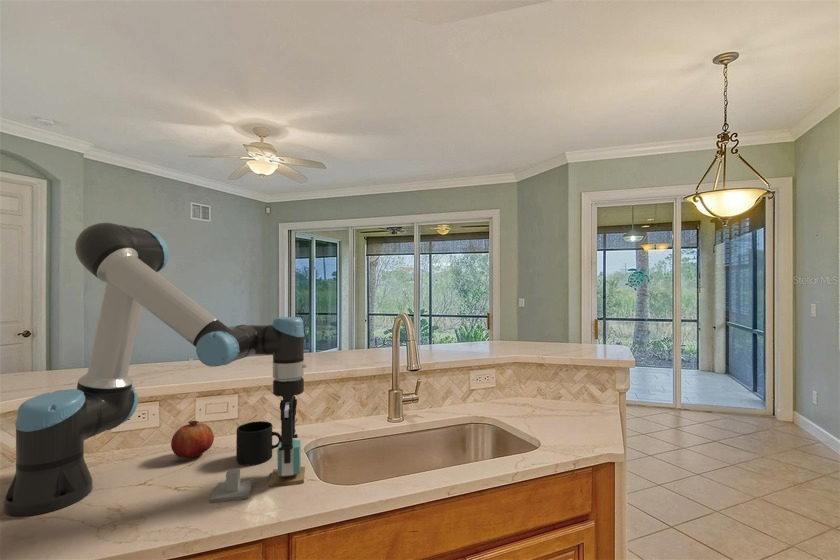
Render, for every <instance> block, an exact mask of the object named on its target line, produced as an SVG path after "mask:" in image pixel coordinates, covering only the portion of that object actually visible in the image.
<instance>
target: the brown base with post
mask: <svg viewBox="0 0 840 560" xmlns="http://www.w3.org/2000/svg"><path fill="white" fill-rule="evenodd" d="M305 472H306V466H301V467H300V474H293V475H289V476H278V468H274V469H272V473H271V476H270V480H269V483H268V484H269V485H268V486H269V488H271V487H279V486H286V485H287V486H288V485H289V486H290V485H300V484H304V482H305V474H306V473H305Z"/></svg>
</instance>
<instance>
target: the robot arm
mask: <svg viewBox="0 0 840 560" xmlns="http://www.w3.org/2000/svg"><path fill="white" fill-rule="evenodd" d="M74 244H75V248H74V250H75V255H76V257H77V259H78V261H79V262H80V263H81V265H82V266H83V267H84V268H85V269H86V270H87V271H89V273H91V274H92V275H93V276H95V277H96V278H97V279H99V280H100V281H101V282H104V283H106V284H105V288H104V294H103V296H102V297H103V298H102V303H101V308H100V313H99V318H98V320H97V321H98V322H97V326H96V330H95V331H96V332H95V336H94V339H93V345H92V350H91V354H90V358H89V359H90V360H89V364H88V369H87V372H86V373H85V374H84V375H82V376H81V377H79V378H78V380H77V386H76V388H75V389H74V388H73V389H69V388H68V389H67V388H66V389H61V390H60V389H59V390H55V391H52V392H46V393H42V394H41V393H40V394H38V395H36V396H33V397H31V398H28V399H27V400H25V401H24V402H22V403H21V404H20V405H19V406H18V409H17V413H16V420H15V423H14V424H15V472H14V475H13V478H12V480H11V482H10V485H9V488H8V490H7V492H6V495H5V497H4V501H3V512H4V513H5V514H6V515H8V516H12V517H15V516H16V517H20V516H21V517H25V516H33V515H35V516H36V515H39V514H43V513H48V512H53V511H56V510H59V509H62V508H65V507H67V506H70V505H73V504H75V503H77V502H79V501H81V500H82V499H84V498H86V497H87V496H88V495H89V494H90V493H91V492H92V490H93V483H94V482H93V477H92V474H91V472H90V470H89V467H88V465H87V463H86V461H85V458H84V455H85V454H84V451H85V450H84V448H85V447H84V445H85V444H84V443H85V441H86V440H88V439H89V438H92V437H94V436H97V435H99V434H102V433H104V432H106V431H110V430H113V429H115V428H117V427H119V426H121V425H122V424H123V423H125V422H127V421H128V420H129V419H130V418H131V417H132V416H133V415H134V413H135V411H136V410H137V407H138V403H139V395H138V393H137V392H136V388H135V386H134V385H133V381H134V380H133V379H132V378H131V377H130V375H129V374H128V373H129V368H130V363H131V359H132V355H133V350H134V347H135V346H134V345H135V341H136V335H137V333H138V332H137V331H138V326H139V323H140V317H141V313H142V308H144V309H145V310H147V311H149V312H150V313H151V314H152V315H153V316H155V317H156V318H157V319H158V320H160V321H161V322H162V323H163V324H165V325H166V326H168V327H169V328H171V330H172V331H174V332H175V333H177V335H179V336H180V337H182V338H183V339H185V341H187V342H188V343H190V344H191V345H192V346H193V347H195V352H196V356H197V358H198V360H199V361H200V362H201V364H202V365H205V366H207V367H221V366H226V365H229V364H231V363H233V362H235V361H238V360H241V359H244V358H248V357H249V356H260V355H266V356H270V355H271V356H272V378H273V380H272V393H273V395H274V396H275V397H276V396H277V397H282V399H281V400H280V403H279V410H280V421H281V425H280V426H281V427H280V429H281V430H280V431H281V432H280V433H281V434H280V435H281V448H279V450H282V476H289V475H293V440H296V439H298V437H299V436H298V433H296V431H297V430H296V415H297V405H298V400H297V399H298V398H296V396H299V395H301V394H303V392H305V387H304V386H305V384H304V383H305V378H303V377H304V374H305V373H304V372H305V371H304V369H306V368H307V364H306V363H304V360H305V357H304V355H305V353H304V352H305V349H304V348H305V347H304V346H305V333H304V332H305V331H304V329H305V327H304V320H303V319H302V318H301V317H299V316H298V317H297V316H285V317H284V316H283V317H282V316H281V317H279V316H278V317H275V318H274V319H273V321H272V324H269V325H266V324H265V325H258V324H256V325H255V324H254V325H252V324H250V325H249V324H248V325H247V324H236V325H230V326H227V325H226V324H224V323H223V322H222V321H221V320H219V319H218V318H217V317H215V316H214V315H213V314H212V313H211V312H209V311H207V309H205V308H204V307H203V306H201V305H200V304H199V303H197V302H196V301H194V299H192V298H191V297H189V296H188V295H186V294H185V292H183V291H181V290H180V289H179V288H178V287H176V286H175V285H174V284H173V283H171V282H170V281H168V280H167V279H166V278H165V277H163V276H162V275H161V274H159V273H158V272H160V271H161V270H162V269H164V268H165V267H166V266H167V264H168V262H169V259H170V258H169V257H170V256H169V255H170V253H169V247H168V245H167V243H166V242H165V240H164V239H163V238H162V236H160V235H159V234H158V233H156V232H154V231H151V230H147V229H144V228H139V227H133V226H127V225H121V224H118V223H111V222H98V223H94V224H91V225H90V226H88V227H86V228H85V229H83V230H82V231H81V232H79V235H78V236H77V239H76V240H75V243H74ZM295 433H296V434H295Z"/></svg>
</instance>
